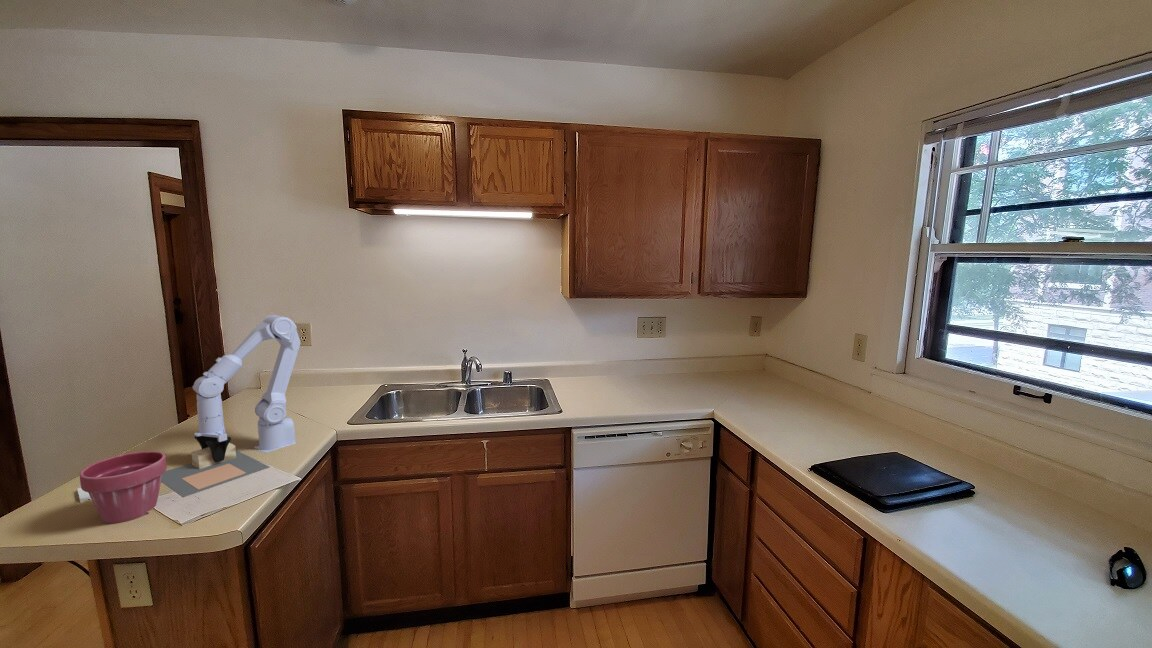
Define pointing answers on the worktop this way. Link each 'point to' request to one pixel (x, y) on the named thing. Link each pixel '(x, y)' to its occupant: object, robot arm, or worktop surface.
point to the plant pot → (124, 484)
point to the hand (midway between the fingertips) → (214, 458)
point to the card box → (210, 456)
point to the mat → (209, 474)
